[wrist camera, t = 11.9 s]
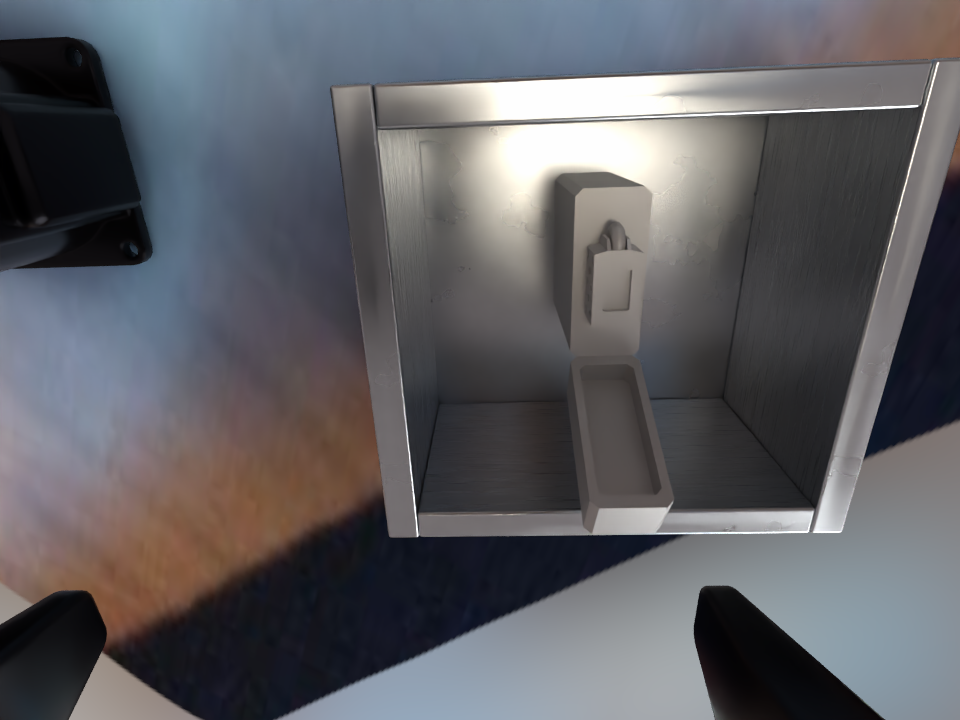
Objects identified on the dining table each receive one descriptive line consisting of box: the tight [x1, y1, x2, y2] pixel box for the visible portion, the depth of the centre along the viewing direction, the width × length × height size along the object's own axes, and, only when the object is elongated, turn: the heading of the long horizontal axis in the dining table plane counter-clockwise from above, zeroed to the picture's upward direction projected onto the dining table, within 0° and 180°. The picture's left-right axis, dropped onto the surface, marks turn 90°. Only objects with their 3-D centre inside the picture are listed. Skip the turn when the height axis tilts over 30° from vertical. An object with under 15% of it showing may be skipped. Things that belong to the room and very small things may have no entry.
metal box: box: [330, 58, 960, 537], centre depth 15 cm, size 12×11×7 cm
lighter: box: [553, 172, 674, 534], centre depth 14 cm, size 7×2×8 cm, turn 2°
